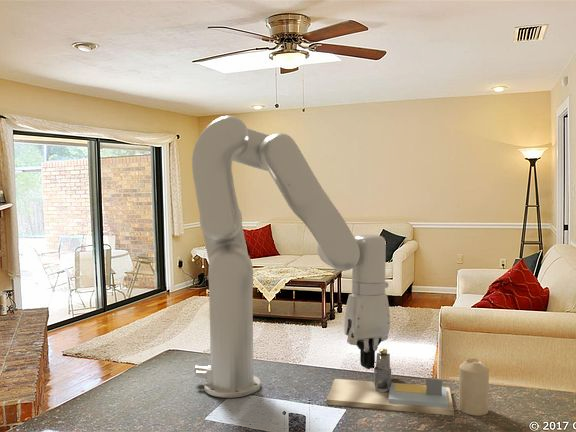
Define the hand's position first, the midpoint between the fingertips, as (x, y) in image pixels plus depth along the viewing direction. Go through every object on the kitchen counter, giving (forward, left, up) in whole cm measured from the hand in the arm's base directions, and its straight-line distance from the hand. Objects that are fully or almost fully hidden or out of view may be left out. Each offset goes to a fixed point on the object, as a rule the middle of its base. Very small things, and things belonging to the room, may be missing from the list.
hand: (367, 366), depth 119 cm
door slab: (+11, -10, -2) cm, 15 cm away
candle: (+22, -12, -3) cm, 25 cm away
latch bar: (+4, -3, -1) cm, 5 cm away
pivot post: (+4, -8, -3) cm, 10 cm away
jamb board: (+5, -10, -3) cm, 12 cm away
